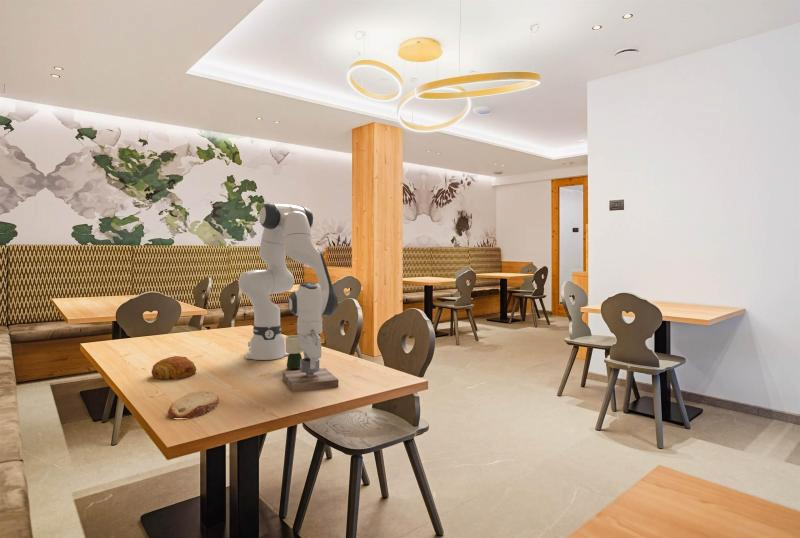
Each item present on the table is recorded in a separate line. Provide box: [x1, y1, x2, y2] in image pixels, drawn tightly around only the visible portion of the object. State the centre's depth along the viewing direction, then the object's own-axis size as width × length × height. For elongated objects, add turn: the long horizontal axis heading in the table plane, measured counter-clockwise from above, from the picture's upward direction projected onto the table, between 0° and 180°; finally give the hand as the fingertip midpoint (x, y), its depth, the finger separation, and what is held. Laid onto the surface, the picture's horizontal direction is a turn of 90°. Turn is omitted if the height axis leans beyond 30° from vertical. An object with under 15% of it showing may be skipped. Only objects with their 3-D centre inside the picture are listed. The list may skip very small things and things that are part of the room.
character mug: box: [285, 334, 303, 370], centre depth 191 cm, size 11×7×13 cm, turn 52°
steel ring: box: [299, 357, 320, 373], centre depth 171 cm, size 6×6×4 cm
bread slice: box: [167, 390, 220, 419], centre depth 144 cm, size 18×18×4 cm
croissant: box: [151, 355, 197, 380], centre depth 180 cm, size 14×16×8 cm
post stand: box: [282, 367, 339, 393], centre depth 171 cm, size 18×16×6 cm
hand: (309, 365), depth 171 cm, fingers open, 6 cm apart
